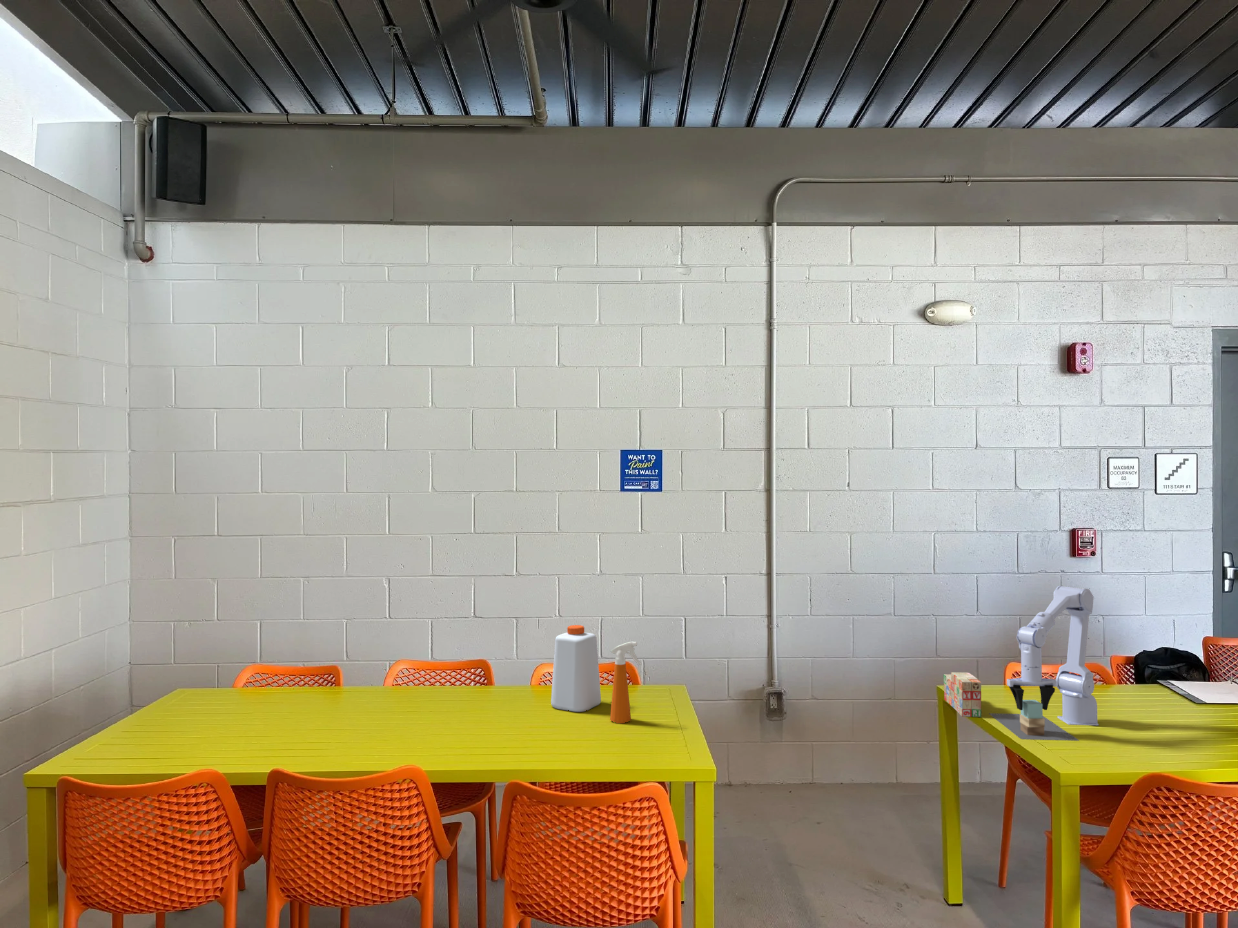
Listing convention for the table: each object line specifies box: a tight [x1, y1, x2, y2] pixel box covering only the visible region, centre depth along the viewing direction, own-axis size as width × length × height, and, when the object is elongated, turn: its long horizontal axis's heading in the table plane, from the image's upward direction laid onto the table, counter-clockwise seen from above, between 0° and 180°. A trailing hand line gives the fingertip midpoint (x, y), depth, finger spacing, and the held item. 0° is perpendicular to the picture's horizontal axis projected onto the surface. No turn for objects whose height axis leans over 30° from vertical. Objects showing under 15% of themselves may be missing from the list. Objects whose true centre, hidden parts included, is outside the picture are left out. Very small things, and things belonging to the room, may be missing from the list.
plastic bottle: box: [550, 624, 602, 713], centre depth 278 cm, size 15×15×28 cm
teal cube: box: [1020, 699, 1044, 719], centre depth 245 cm, size 4×4×4 cm
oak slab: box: [1019, 713, 1045, 727], centre depth 245 cm, size 5×5×2 cm
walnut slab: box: [1021, 723, 1044, 735], centre depth 245 cm, size 5×5×2 cm
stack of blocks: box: [943, 671, 982, 718], centre depth 272 cm, size 21×6×12 cm, turn 173°
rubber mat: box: [988, 712, 1080, 742], centre depth 251 cm, size 17×26×1 cm, turn 175°
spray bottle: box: [609, 641, 642, 724], centre depth 260 cm, size 7×11×26 cm, turn 78°
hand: (1031, 709), depth 245 cm, fingers open, 7 cm apart
